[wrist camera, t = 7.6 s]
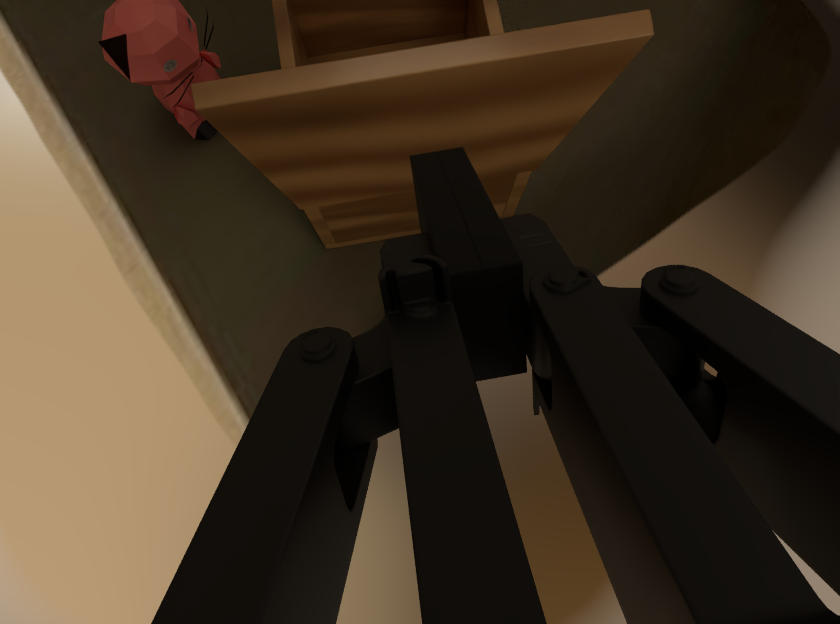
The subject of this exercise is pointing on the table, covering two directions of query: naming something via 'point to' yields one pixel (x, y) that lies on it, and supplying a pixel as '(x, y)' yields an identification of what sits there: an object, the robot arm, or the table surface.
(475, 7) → the chest
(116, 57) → the cat figurine
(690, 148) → the table surface
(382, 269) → the robot arm
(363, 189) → the chest lid
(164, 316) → the table surface
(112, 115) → the table surface
